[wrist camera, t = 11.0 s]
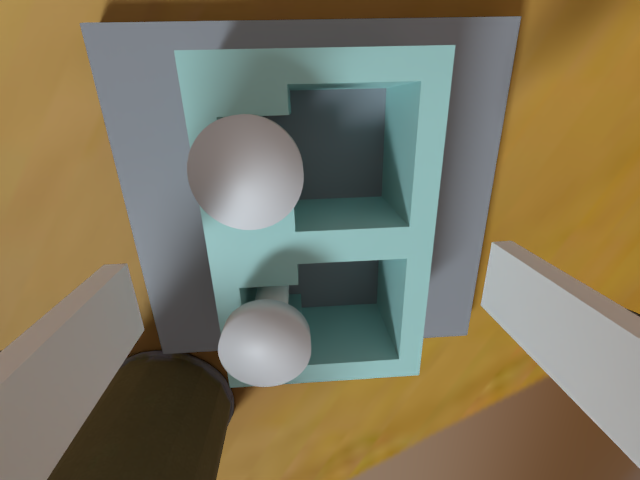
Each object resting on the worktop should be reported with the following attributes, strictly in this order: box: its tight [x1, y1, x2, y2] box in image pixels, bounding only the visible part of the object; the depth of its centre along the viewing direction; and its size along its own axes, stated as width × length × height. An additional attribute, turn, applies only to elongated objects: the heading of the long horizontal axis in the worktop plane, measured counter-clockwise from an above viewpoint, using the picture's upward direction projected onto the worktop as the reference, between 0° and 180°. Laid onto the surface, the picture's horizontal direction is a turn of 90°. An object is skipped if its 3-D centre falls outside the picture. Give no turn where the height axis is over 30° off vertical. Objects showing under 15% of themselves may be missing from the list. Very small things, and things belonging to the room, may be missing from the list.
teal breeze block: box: [174, 45, 455, 388], centre depth 18 cm, size 10×16×6 cm, turn 1°
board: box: [80, 16, 521, 387], centre depth 17 cm, size 22×20×9 cm
